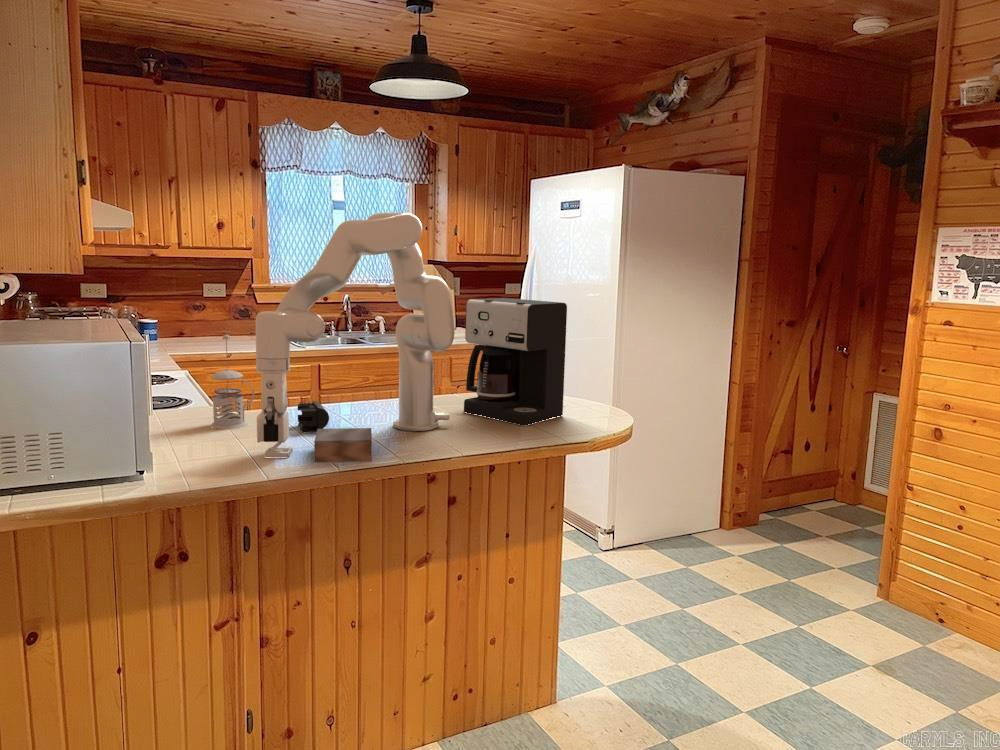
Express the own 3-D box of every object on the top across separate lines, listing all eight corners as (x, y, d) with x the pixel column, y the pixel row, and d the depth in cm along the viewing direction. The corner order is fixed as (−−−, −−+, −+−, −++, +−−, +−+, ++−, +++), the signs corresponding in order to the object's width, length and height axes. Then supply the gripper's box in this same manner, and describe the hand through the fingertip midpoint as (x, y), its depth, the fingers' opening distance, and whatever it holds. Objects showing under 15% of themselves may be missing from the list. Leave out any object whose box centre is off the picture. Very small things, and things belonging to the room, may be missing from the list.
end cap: (329, 431, 203) (329, 407, 201) (302, 433, 200) (302, 408, 199) (323, 423, 212) (323, 400, 211) (297, 425, 209) (297, 401, 208)
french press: (208, 422, 209) (205, 333, 205) (252, 419, 213) (250, 332, 209) (211, 430, 200) (207, 337, 196) (256, 427, 205) (254, 336, 201)
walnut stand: (371, 447, 187) (371, 427, 186) (371, 460, 175) (371, 439, 175) (317, 448, 185) (317, 428, 184) (314, 462, 173) (314, 440, 172)
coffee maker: (452, 411, 232) (454, 297, 226) (493, 402, 247) (496, 296, 241) (523, 426, 214) (527, 303, 208) (563, 416, 229) (568, 301, 223)
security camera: (263, 451, 181) (262, 410, 179) (293, 451, 182) (292, 411, 180) (257, 458, 175) (256, 416, 173) (287, 458, 175) (287, 416, 174)
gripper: (285, 370, 167) (286, 445, 170) (293, 360, 184) (293, 428, 186) (250, 370, 166) (251, 445, 168) (261, 359, 182) (261, 428, 185)
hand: (273, 436), depth 177 cm, fingers open, 9 cm apart
